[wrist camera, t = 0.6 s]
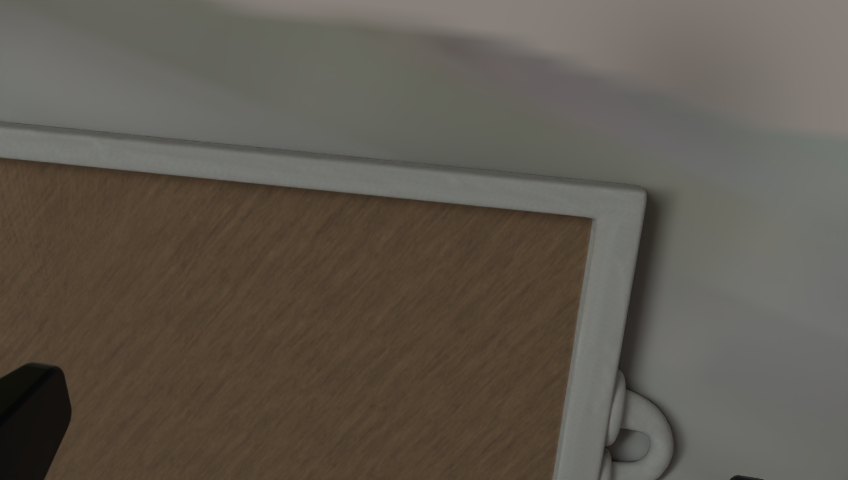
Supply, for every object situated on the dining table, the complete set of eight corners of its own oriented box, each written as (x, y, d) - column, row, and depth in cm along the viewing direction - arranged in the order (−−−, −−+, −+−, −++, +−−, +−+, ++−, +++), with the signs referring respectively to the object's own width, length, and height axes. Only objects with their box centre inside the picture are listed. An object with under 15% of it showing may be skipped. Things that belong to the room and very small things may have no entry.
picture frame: (-170, 109, 24) (733, 199, 23) (-131, 106, 26) (716, 190, 24) (-114, 590, 29) (635, 683, 28) (-84, 562, 30) (626, 650, 29)
